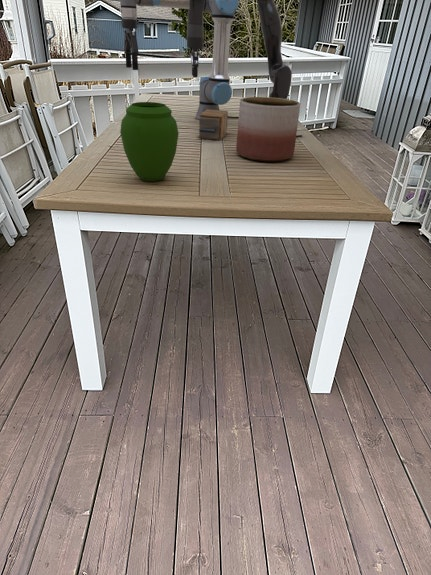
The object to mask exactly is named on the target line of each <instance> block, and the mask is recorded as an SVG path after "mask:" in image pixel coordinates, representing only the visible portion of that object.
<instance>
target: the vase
mask: <svg viewBox="0 0 431 575" xmlns="http://www.w3.org/2000/svg"><path fill="white" fill-rule="evenodd" d="M125 113H126V114H125V115H124V117H122V119H121V122H120V123H121V124H120V130H119V133H120V138H121V142H122V147H123V150H124V154H125V155H126V158H127V160H128V163H129V165H130V167H131V168H132V170H133V172H134V173H135V175H136V176H137V177H138V178H139V179H141V180H143V181H145V182H159V181H161V180H163V179H164V178H165V176H166V175H167V174H168V173H169V170H170V169H171V167H172V165H173V162H174V159H175V157H176V156H175V155H176V153H177V147H178V140H179V129H178V122H177V120H176V119H175V117H174V116H173V115H172V109H171V108H170V107H169V106H167V105H166V104H164V103H162V102H155V101H138V102H132V103H131V104H130V105H128V107H127V108H125Z"/></svg>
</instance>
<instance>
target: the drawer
mask: <svg viewBox="0 0 431 575" xmlns="http://www.w3.org/2000/svg"><path fill="white" fill-rule="evenodd" d="M199 122H200V127H198V128H199V129H198V138H199V137H204V138H203V139H205V138H215V139H219V131H220V118H213V117H200V120H199ZM215 139H214V140H215Z"/></svg>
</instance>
